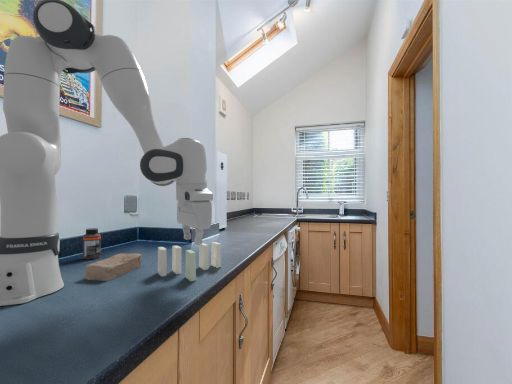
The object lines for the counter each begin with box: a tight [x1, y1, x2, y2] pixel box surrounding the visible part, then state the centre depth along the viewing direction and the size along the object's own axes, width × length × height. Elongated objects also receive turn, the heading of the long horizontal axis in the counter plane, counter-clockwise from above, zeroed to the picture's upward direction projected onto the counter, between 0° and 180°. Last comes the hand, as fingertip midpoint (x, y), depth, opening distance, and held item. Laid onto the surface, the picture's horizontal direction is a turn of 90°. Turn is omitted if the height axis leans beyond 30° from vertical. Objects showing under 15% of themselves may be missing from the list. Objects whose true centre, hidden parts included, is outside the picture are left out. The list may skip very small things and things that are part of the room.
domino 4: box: [210, 241, 222, 269], centre depth 93 cm, size 2×5×8 cm, turn 32°
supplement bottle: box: [82, 227, 102, 260], centre depth 105 cm, size 6×6×11 cm
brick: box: [84, 253, 143, 282], centre depth 86 cm, size 17×8×5 cm, turn 171°
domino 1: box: [157, 246, 168, 277], centre depth 84 cm, size 2×5×8 cm, turn 32°
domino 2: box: [171, 245, 183, 275], centre depth 86 cm, size 2×5×8 cm, turn 32°
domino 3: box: [198, 242, 210, 271], centre depth 91 cm, size 2×5×8 cm, turn 32°
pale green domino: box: [184, 249, 197, 282], centre depth 79 cm, size 2×5×8 cm, turn 32°
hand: (192, 241), depth 80 cm, fingers open, 8 cm apart
